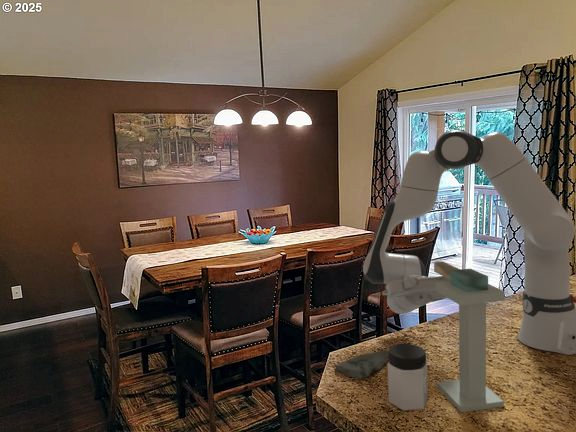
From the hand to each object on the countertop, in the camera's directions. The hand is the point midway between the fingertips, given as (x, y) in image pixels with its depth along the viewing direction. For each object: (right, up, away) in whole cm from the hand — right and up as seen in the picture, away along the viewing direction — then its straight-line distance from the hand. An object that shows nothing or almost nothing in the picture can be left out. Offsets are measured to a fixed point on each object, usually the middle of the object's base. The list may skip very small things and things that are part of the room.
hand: (433, 278), depth 117 cm
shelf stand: (+4, -25, -14) cm, 29 cm away
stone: (-16, -24, +4) cm, 29 cm away
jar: (-10, -26, -14) cm, 32 cm away
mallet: (+1, +1, -12) cm, 12 cm away
